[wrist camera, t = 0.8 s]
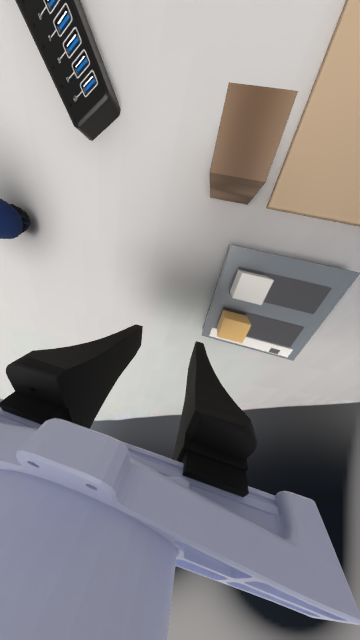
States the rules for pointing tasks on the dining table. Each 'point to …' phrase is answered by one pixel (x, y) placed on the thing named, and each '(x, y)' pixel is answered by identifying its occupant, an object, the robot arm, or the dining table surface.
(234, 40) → the dining table surface
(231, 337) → the switch tab
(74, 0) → the multiport hub
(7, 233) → the flashlight
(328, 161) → the mat
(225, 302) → the switch panel
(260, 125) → the block
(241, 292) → the switch tab
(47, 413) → the robot arm
